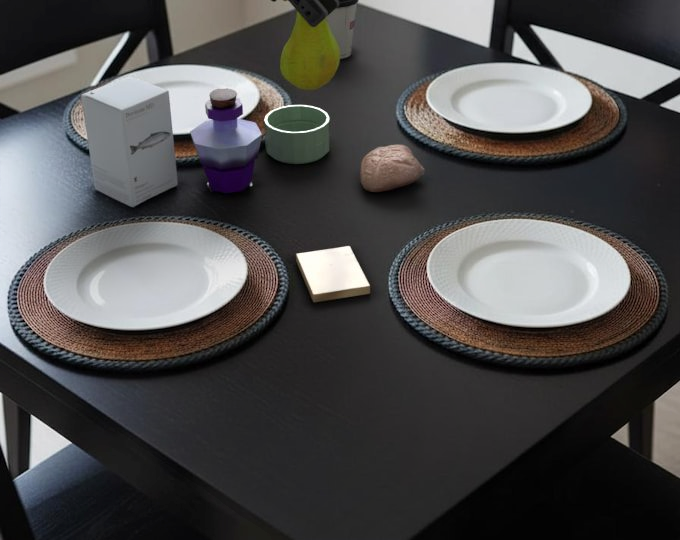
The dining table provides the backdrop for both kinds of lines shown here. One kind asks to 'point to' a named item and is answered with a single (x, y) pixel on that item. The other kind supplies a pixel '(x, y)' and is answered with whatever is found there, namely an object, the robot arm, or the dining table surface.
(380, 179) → the brown rounded lump
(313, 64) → the fruit
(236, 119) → the potion bottle
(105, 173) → the white packaging box
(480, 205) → the dining table surface
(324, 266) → the board
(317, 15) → the robot arm
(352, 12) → the coffee cup
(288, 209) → the dining table surface
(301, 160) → the bowl
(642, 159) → the dining table surface
